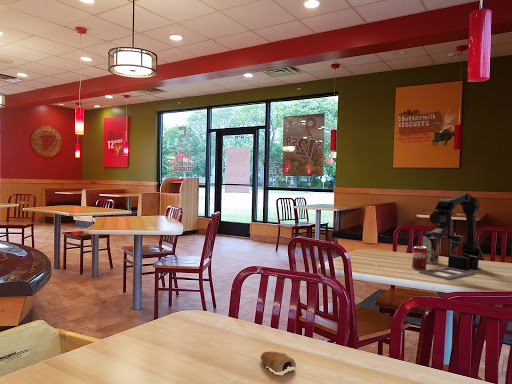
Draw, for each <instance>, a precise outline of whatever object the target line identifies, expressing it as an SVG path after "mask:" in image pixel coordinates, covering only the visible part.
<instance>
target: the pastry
mask: <svg viewBox="0 0 512 384" xmlns="http://www.w3.org/2000/svg"><path fill="white" fill-rule="evenodd" d="M260 360H261V362H262V361H263V362H262V363H264V364H265V365H266V366H267V367H269V368H271V369H272V370H274V371H275V372H281V371H284V370H285V369H287V367H288V366H289V367H295V368H296V366H297V365H296V362H295V359H294V358H292V357H290V355H287V354H286V353H285V352H279V351H264V352H262V354H261V355H260ZM264 364H263V365H264ZM265 365H264V366H265Z"/></svg>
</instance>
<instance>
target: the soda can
mask: <svg viewBox="0 0 512 384" xmlns="http://www.w3.org/2000/svg"><path fill="white" fill-rule="evenodd" d="M411 260H412V264H411V268H412V269H414V270H418V271H423V270H427V263H426V262H427V248H426V247H423V246H419V245H418V246H417V245H415V246H413V247H412V259H411Z"/></svg>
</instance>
